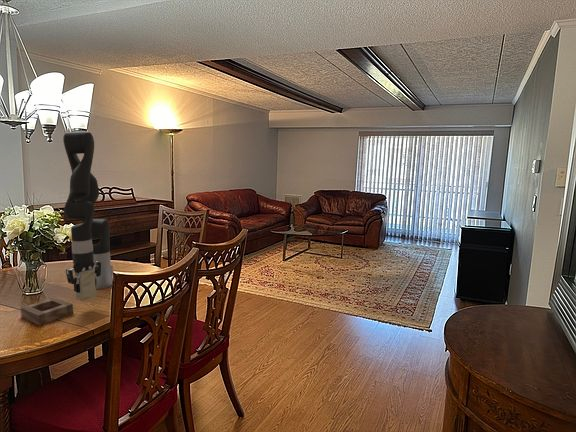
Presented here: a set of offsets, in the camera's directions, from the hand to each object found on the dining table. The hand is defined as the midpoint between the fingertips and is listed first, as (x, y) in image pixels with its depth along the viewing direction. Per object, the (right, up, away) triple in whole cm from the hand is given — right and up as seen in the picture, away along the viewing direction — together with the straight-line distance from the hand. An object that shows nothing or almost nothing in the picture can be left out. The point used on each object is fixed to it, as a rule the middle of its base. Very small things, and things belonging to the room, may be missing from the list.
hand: (85, 289), depth 157 cm
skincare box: (0, -4, +1) cm, 4 cm away
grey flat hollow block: (-13, -9, -4) cm, 17 cm away
